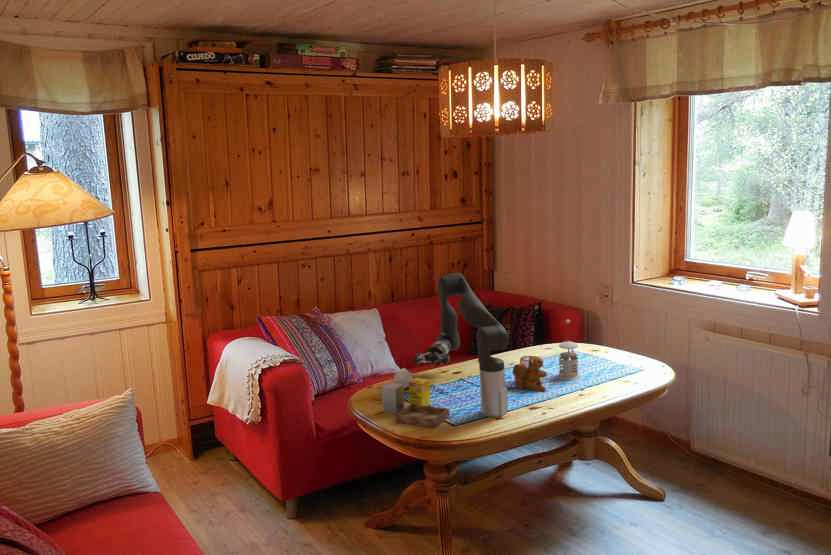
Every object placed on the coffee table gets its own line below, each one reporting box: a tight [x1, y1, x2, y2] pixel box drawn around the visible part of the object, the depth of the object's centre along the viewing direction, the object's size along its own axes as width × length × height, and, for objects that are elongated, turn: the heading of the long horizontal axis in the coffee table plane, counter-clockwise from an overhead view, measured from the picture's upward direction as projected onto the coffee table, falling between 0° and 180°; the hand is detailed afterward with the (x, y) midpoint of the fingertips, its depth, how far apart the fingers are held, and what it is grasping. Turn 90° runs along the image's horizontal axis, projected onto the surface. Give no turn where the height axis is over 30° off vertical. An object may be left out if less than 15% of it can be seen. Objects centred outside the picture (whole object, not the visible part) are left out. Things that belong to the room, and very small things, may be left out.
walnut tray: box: [395, 404, 450, 429], centre depth 262 cm, size 16×12×3 cm
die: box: [392, 367, 414, 390], centre depth 299 cm, size 8×9×10 cm
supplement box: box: [408, 377, 431, 406], centre depth 274 cm, size 6×6×11 cm
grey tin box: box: [381, 382, 405, 415], centre depth 272 cm, size 6×6×10 cm
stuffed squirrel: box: [512, 355, 548, 392], centre depth 290 cm, size 10×14×13 cm
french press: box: [557, 319, 581, 381], centre depth 301 cm, size 10×12×25 cm
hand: (426, 363), depth 283 cm, fingers open, 8 cm apart
